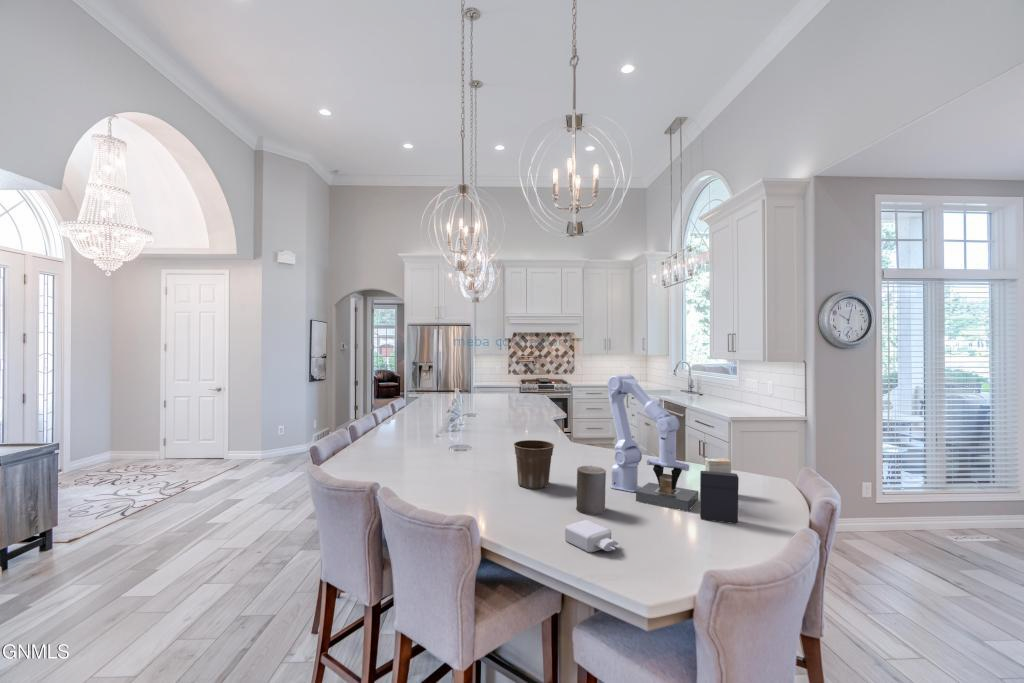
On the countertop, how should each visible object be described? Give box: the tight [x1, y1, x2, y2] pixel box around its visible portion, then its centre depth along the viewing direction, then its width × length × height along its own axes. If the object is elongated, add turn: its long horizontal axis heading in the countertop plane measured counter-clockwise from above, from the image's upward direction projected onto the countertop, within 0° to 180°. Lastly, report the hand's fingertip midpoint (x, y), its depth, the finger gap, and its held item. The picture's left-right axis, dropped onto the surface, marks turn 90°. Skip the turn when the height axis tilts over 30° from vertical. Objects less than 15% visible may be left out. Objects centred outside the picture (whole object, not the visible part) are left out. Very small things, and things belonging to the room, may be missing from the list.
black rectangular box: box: [699, 470, 740, 524], centre depth 152 cm, size 11×4×15 cm, turn 71°
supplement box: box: [704, 457, 732, 473], centre depth 180 cm, size 8×5×13 cm, turn 84°
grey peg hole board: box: [635, 482, 699, 512], centre depth 170 cm, size 18×14×4 cm
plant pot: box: [513, 439, 555, 490], centre depth 189 cm, size 16×16×16 cm
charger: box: [564, 519, 620, 553], centre depth 130 cm, size 5×9×15 cm
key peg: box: [660, 473, 674, 494], centre depth 170 cm, size 4×4×8 cm
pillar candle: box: [575, 465, 607, 516], centre depth 160 cm, size 10×10×15 cm
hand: (667, 487), depth 171 cm, fingers closed on key peg, 4 cm apart
